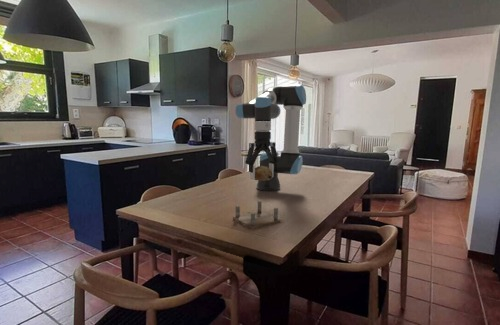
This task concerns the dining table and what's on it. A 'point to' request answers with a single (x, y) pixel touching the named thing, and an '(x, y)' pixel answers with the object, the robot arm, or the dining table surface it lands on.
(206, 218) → the dining table surface
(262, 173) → the bread roll
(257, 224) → the trivet
